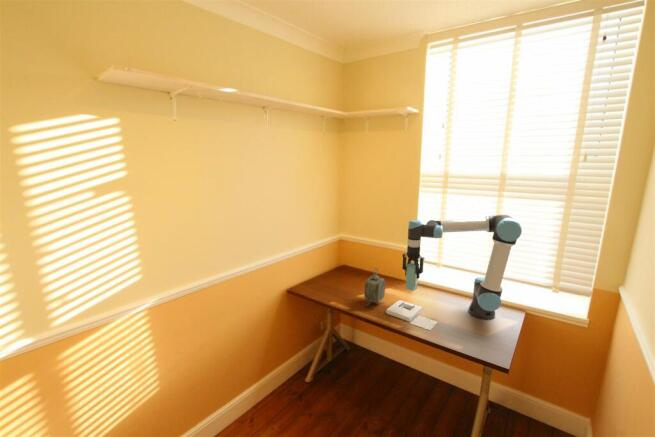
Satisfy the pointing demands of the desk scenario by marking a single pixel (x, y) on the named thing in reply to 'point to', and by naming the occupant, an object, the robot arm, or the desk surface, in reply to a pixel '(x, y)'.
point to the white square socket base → (404, 310)
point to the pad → (424, 322)
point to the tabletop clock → (374, 288)
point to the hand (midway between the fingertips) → (411, 282)
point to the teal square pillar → (411, 277)
